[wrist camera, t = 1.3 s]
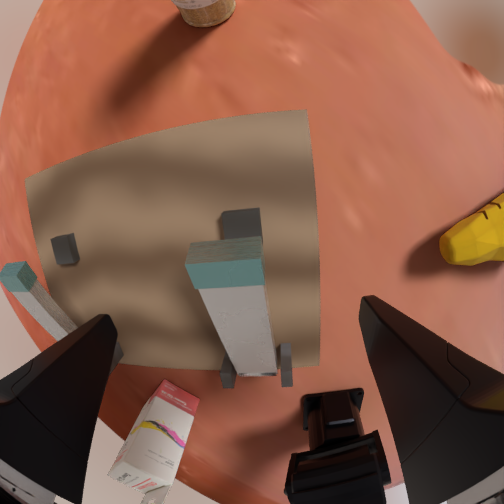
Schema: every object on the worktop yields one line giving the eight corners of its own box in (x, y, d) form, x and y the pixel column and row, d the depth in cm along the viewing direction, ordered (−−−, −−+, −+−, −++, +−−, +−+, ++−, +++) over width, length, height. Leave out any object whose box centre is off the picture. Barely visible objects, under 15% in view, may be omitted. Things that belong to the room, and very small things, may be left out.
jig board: (316, 351, 24) (324, 393, 18) (85, 347, 26) (60, 374, 21) (303, 115, 18) (314, 96, 12) (37, 176, 21) (-1, 183, 15)
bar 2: (279, 362, 21) (279, 378, 20) (239, 363, 21) (238, 379, 20) (261, 236, 12) (260, 258, 11) (190, 242, 12) (184, 264, 11)
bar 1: (109, 356, 22) (106, 369, 21) (86, 353, 23) (82, 364, 22) (25, 261, 14) (16, 275, 13) (6, 263, 14) (-3, 276, 13)
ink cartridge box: (162, 376, 26) (109, 485, 12) (201, 398, 27) (166, 511, 13) (140, 407, 29) (96, 494, 15) (173, 426, 29) (140, 516, 15)
